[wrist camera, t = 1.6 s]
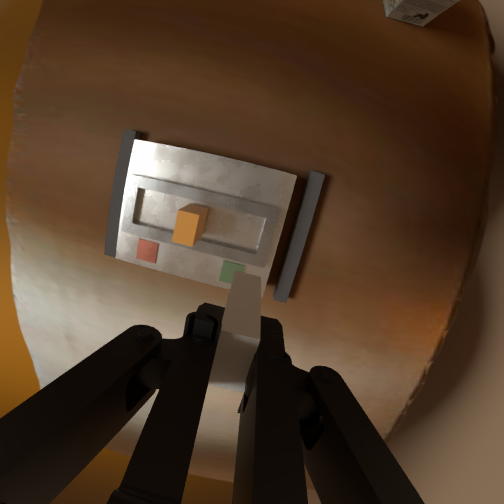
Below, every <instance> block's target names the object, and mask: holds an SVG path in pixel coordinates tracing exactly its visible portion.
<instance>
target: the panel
mask: <svg viewBox="0 0 504 504" xmlns="http://www.w3.org/2000/svg"><path fill="white" fill-rule="evenodd" d="M296 178H297V175H293V174H290V173H286V172H283V171H279V170H275V169H271V168H268V167H264V166H260V165H256V164H252V163H248V162H244V161H240V160H236V159H231V158H227V157H223V156H218V155H214V154H209V153H204V152H200V151H195V150H190V149H185V148H180V147H175V146H170V145H164V144H159V143H153V142H147V141H141V140H135V141H134V145H133V150H132V154H131V159H130V164H129V169H128V174H127V179H126V185H125V191H124V196H123V203H122V209H121V216H120V223H119V231H118V239H117V247H116V257H115V258H117V259H120V260H124V261H127V262H130V263H134V264H137V265H141V266H144V267H148V268H151V269H155V270H158V271H162V272H166V273H169V274H173V275H176V276H180V277H184V278H187V279H191V280H195V281H199V282H202V283H206V284H210V285H214V286H218V287H222V288H226V289H229V290H230V288H231V284H232V280H233V276H234V272H235V271H239V272H243V273H247V274H251V275H255V276H259V277H261V297H263V294H264V290H265V287H266V284H267V280H268V277H269V273H270V270H271V267H272V263H273V260H274V256H275V253H276V249H277V246H278V242H279V239H280V235H281V232H282V228H283V225H284V221H285V218H286V214H287V210H288V207H289V203H290V200H291V196H292V192H293V189H294V185H295V181H296ZM190 203H192V204H196V205H201V206H205V207H209V209H208V214H207V218H206V222H205V227H204V232H203V235H202V236H201V237H200V239H199V240H198V241H197V242H196V243H195V245H194V246H193V247H191V246H187V245H183V244H179V243H175V242H172V238H173V233H174V228H175V222H176V217H177V212H178V210H179V209H181V208H183V207H184V206H186V205H188V204H190Z"/></svg>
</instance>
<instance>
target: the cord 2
mask: <svg viewBox="0 0 504 504" xmlns="http://www.w3.org/2000/svg"><path fill="white" fill-rule="evenodd" d="M324 177H325V175H324V174H321V173H318V172H314V171H310V170H309V174H308V177H307V181H306V185H305V188H304V192H303V195H302V199H301V203H300V206H299V210H298V213H297V217H296V220H295V224H294V227H293V230H292V234H291V237H290V241H289V244H288V248H287V251H286V254H285V258H284V261H283V264H282V268H281V271H280V274H279V278H278V281H277V284H276V287H275V291H274V294H273V297H274V300H276V301H281V302H285V303H286V302H287V299H288V296H289V293H290V290H291V287H292V284H293V280H294V277H295V274H296V271H297V268H298V265H299V262H300V258H301V255H302V252H303V249H304V245H305V242H306V239H307V236H308V232H309V229H310V226H311V222H312V219H313V215H314V212H315V209H316V205H317V202H318V198H319V195H320V191H321V188H322V184H323V180H324Z"/></svg>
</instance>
